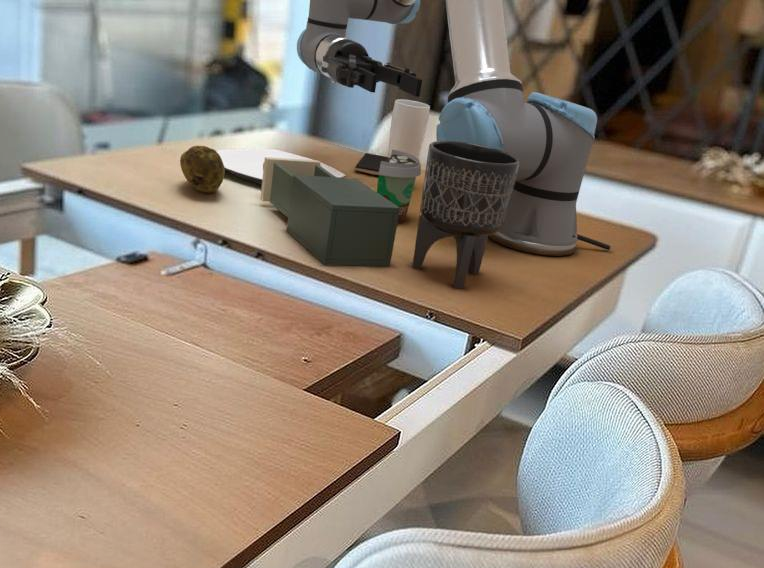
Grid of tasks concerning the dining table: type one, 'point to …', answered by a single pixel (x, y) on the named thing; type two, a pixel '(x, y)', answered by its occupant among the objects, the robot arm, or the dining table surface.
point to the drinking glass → (408, 126)
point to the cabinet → (342, 221)
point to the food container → (398, 180)
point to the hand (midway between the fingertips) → (396, 86)
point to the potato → (203, 168)
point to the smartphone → (370, 163)
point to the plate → (258, 162)
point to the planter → (464, 200)
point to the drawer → (286, 179)
